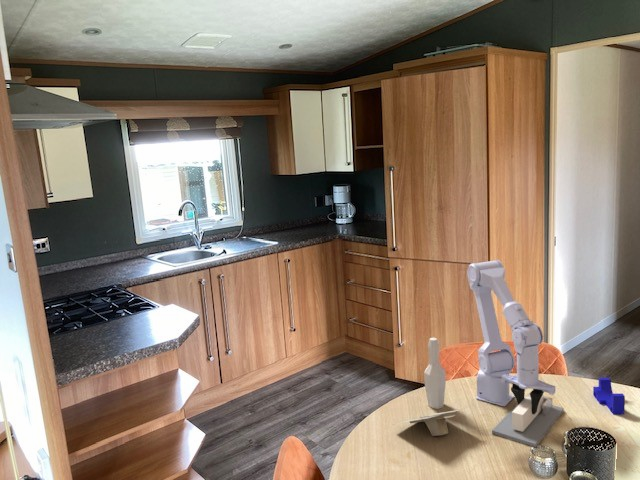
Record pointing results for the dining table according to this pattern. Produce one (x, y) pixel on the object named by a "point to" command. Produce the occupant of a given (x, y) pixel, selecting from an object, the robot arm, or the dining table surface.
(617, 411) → the blue stepped block
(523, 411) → the white rail
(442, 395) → the low poly bottle
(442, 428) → the tilted plate on foot
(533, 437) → the grey base plate
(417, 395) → the dining table surface
